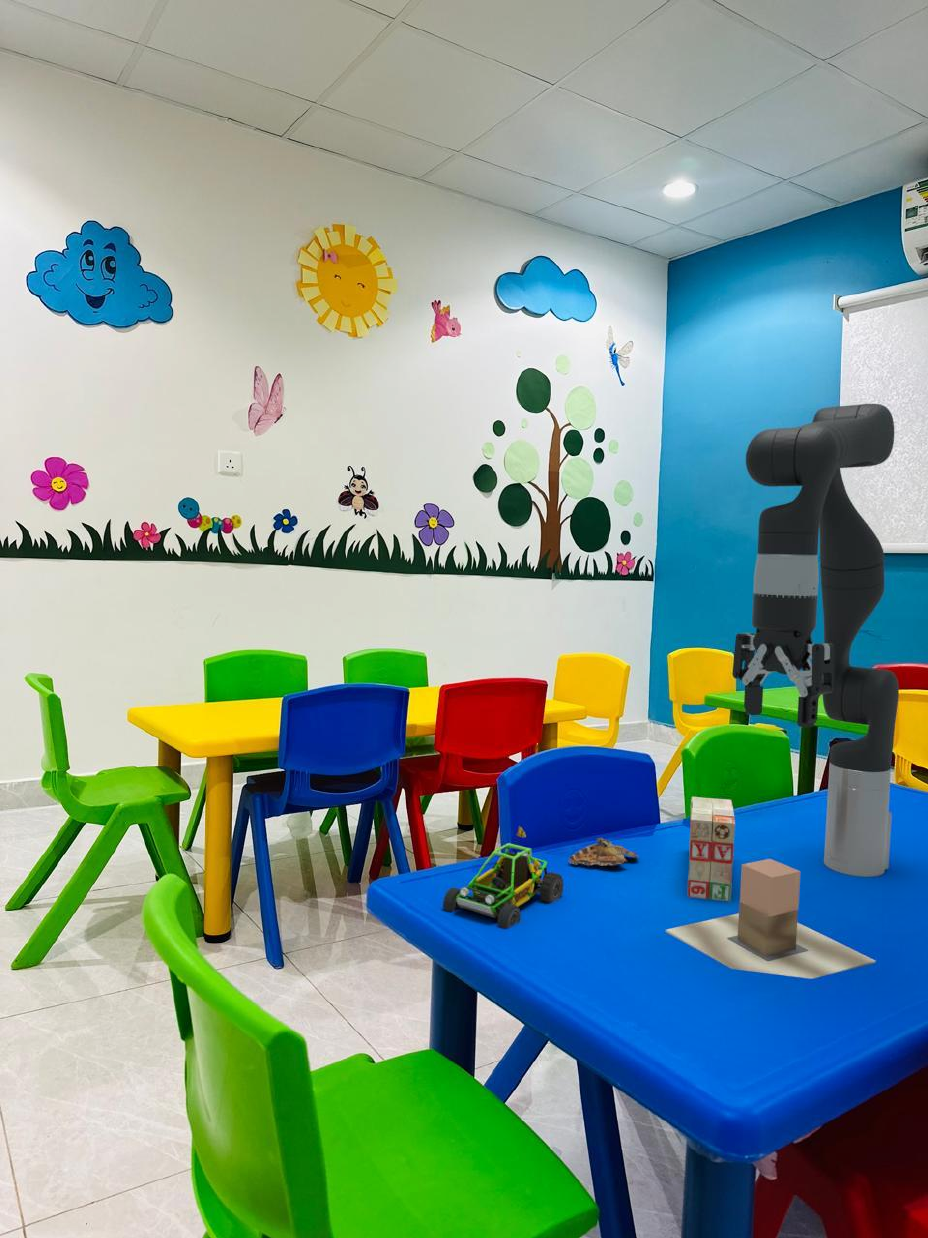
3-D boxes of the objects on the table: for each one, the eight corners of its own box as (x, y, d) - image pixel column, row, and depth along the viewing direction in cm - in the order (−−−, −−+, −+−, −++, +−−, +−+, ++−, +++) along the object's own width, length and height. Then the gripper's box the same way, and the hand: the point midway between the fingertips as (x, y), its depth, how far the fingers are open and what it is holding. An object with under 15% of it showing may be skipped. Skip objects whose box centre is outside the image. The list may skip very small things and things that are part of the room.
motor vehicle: (441, 918, 124) (442, 850, 123) (510, 880, 139) (511, 819, 138) (505, 938, 118) (507, 867, 117) (570, 897, 132) (572, 833, 132)
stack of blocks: (688, 852, 153) (691, 781, 152) (727, 856, 151) (730, 784, 150) (687, 899, 132) (690, 818, 131) (731, 904, 131) (735, 822, 130)
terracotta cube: (768, 895, 118) (769, 858, 117) (798, 909, 114) (800, 871, 113) (740, 902, 116) (741, 864, 115) (769, 916, 111) (771, 877, 111)
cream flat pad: (765, 914, 127) (766, 906, 127) (875, 968, 111) (875, 960, 111) (665, 937, 119) (665, 929, 119) (768, 999, 103) (768, 990, 103)
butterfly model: (567, 862, 145) (567, 844, 145) (601, 843, 155) (601, 826, 155) (616, 874, 140) (616, 854, 140) (647, 854, 150) (648, 836, 150)
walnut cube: (767, 933, 118) (769, 896, 118) (795, 949, 113) (797, 911, 113) (737, 939, 116) (739, 902, 116) (765, 956, 111) (767, 917, 111)
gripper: (854, 594, 107) (846, 729, 108) (764, 588, 119) (758, 708, 121) (809, 595, 103) (801, 734, 104) (721, 588, 116) (715, 712, 117)
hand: (778, 720), depth 112 cm, fingers open, 8 cm apart
